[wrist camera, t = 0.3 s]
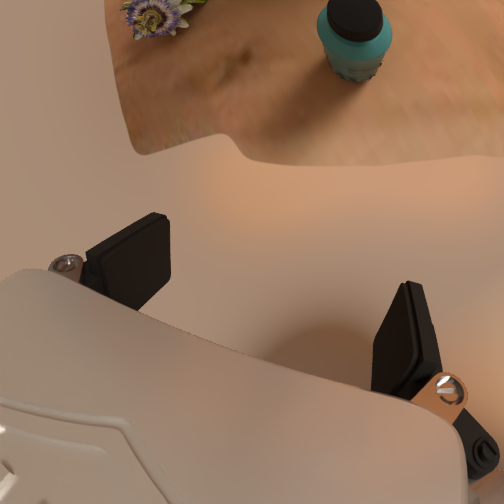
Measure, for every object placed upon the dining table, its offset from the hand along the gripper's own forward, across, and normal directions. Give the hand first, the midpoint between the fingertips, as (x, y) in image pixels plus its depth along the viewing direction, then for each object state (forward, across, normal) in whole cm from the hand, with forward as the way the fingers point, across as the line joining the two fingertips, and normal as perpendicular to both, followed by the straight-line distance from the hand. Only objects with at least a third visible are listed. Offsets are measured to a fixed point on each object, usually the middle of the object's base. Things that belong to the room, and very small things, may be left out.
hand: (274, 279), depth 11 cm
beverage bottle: (+31, -1, -14) cm, 34 cm away
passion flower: (+31, +28, -22) cm, 47 cm away
